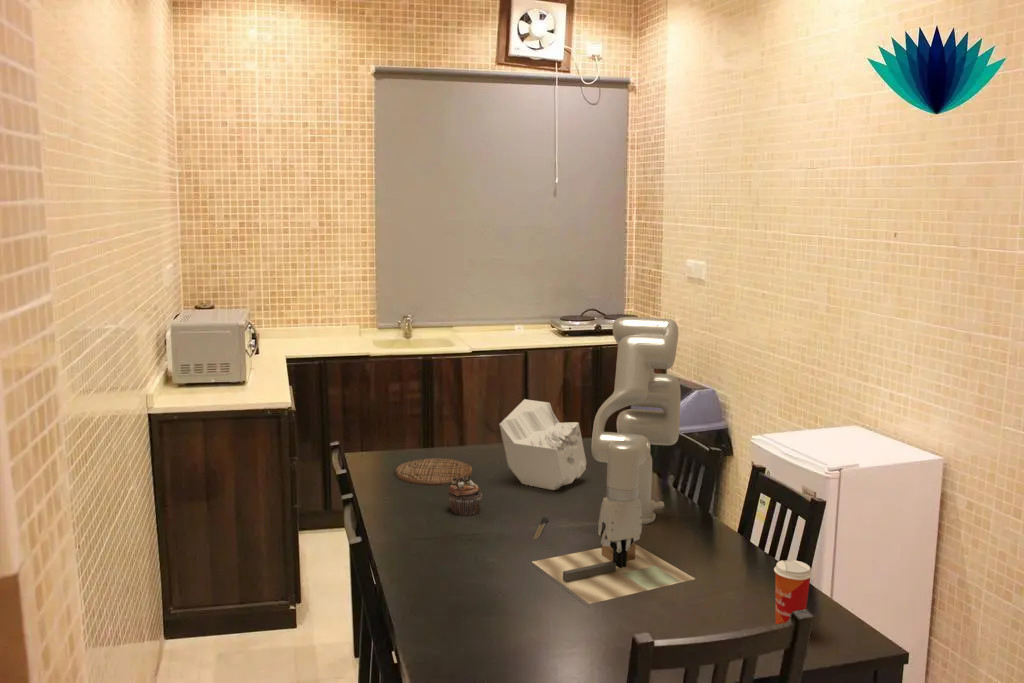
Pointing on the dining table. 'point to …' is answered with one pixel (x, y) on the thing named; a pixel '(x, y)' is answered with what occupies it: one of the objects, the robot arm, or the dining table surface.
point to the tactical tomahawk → (541, 527)
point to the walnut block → (608, 552)
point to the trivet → (433, 471)
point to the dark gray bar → (589, 571)
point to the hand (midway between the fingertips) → (619, 565)
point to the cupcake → (464, 496)
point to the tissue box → (542, 446)
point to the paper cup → (790, 588)
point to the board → (613, 574)
